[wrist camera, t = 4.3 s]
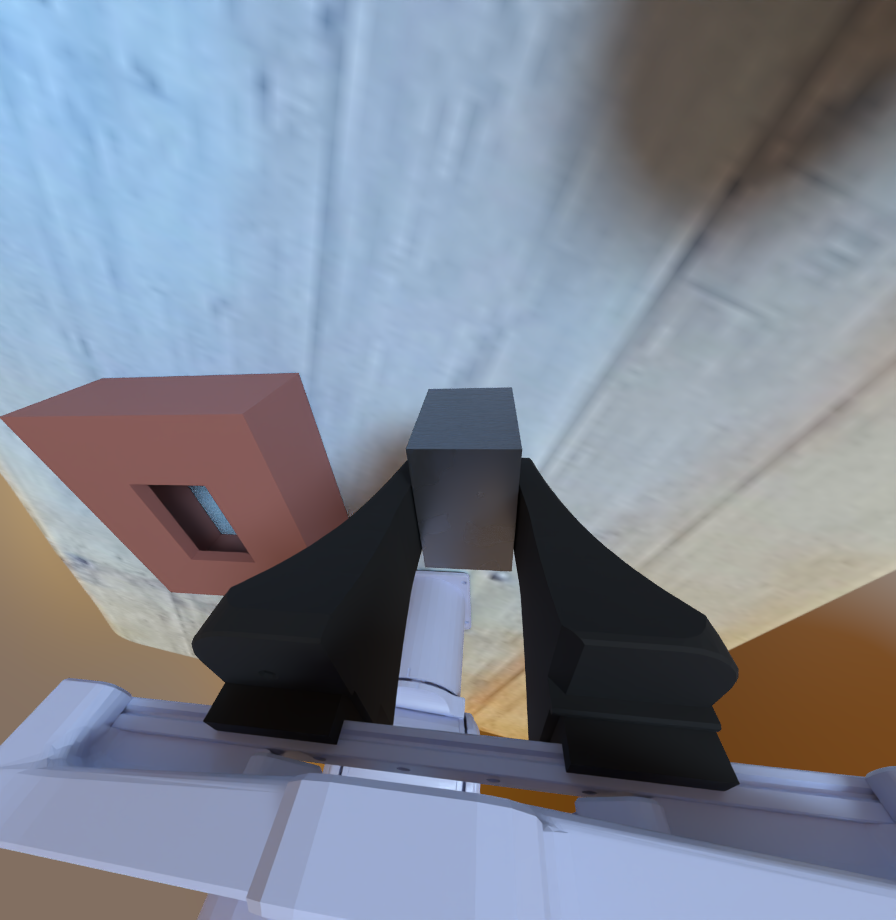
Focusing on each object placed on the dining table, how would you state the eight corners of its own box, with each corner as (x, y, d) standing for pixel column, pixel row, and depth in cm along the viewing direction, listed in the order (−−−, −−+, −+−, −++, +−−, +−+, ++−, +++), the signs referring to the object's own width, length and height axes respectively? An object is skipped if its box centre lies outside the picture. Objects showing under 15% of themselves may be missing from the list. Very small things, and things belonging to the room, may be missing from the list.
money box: (357, 545, 29) (333, 602, 24) (217, 539, 30) (171, 592, 26) (298, 372, 19) (242, 413, 15) (102, 378, 21) (-2, 417, 17)
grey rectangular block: (505, 493, 14) (511, 571, 11) (439, 492, 14) (425, 567, 11) (511, 387, 11) (522, 449, 8) (428, 388, 12) (405, 449, 8)
